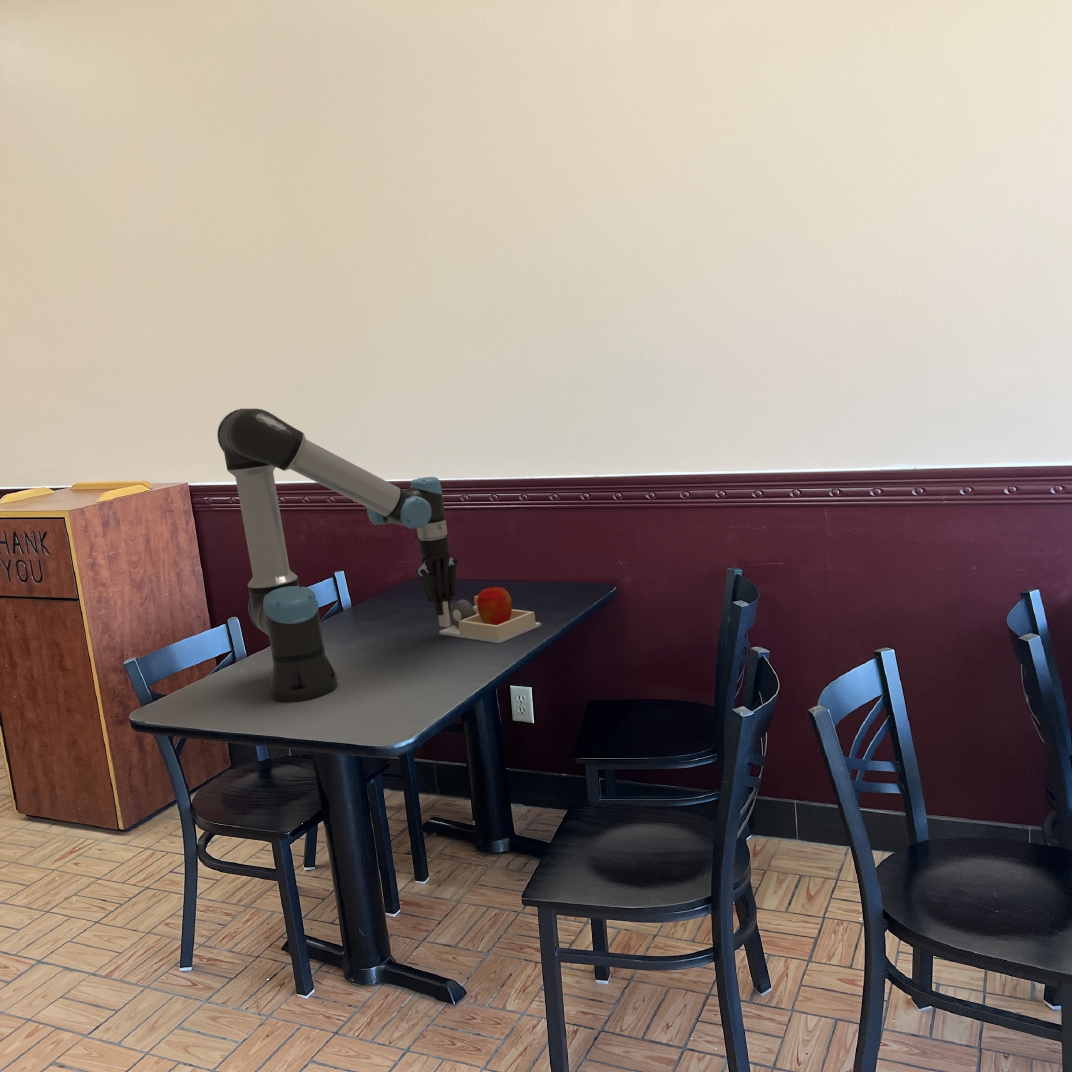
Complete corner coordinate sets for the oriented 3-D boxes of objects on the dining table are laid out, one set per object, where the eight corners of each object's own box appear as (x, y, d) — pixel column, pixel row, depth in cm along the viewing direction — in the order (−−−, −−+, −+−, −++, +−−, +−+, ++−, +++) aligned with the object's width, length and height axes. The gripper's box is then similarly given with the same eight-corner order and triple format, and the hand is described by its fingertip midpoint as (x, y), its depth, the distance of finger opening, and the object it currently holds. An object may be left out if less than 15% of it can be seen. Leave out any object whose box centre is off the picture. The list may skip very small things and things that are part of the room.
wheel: (467, 629, 255) (464, 603, 254) (449, 626, 260) (446, 601, 259) (489, 621, 261) (486, 595, 260) (471, 618, 266) (468, 593, 265)
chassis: (498, 643, 243) (495, 616, 242) (439, 634, 258) (436, 608, 257) (541, 625, 255) (538, 600, 254) (482, 617, 270) (478, 593, 268)
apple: (507, 634, 248) (501, 588, 245) (474, 634, 250) (469, 589, 248) (519, 623, 256) (514, 579, 254) (487, 624, 259) (482, 580, 257)
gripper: (423, 543, 242) (436, 634, 247) (461, 532, 252) (473, 620, 256) (404, 542, 248) (417, 631, 252) (441, 531, 257) (453, 617, 261)
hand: (445, 625), depth 254 cm, fingers closed
